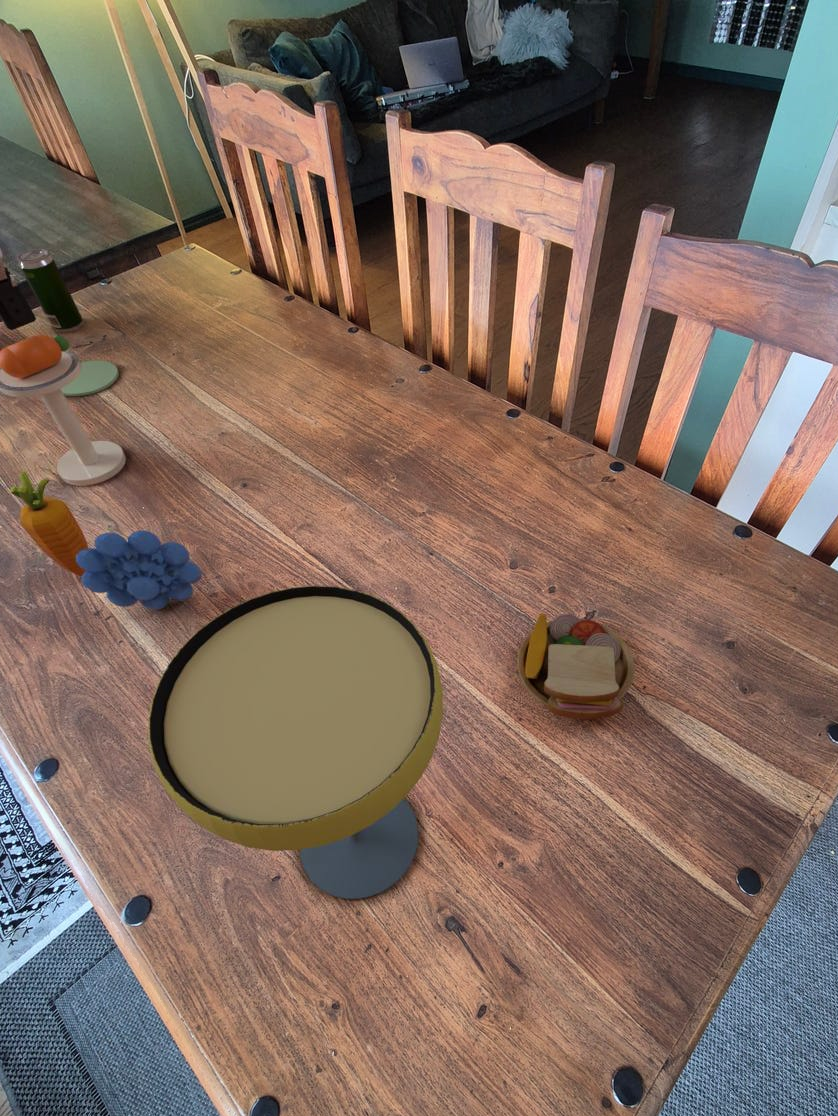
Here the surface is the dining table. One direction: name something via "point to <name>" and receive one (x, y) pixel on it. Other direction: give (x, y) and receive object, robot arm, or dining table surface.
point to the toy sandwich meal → (576, 667)
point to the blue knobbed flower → (138, 570)
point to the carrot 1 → (32, 355)
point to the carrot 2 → (51, 525)
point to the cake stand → (68, 423)
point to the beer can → (50, 290)
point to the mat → (92, 378)
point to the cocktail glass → (303, 731)
